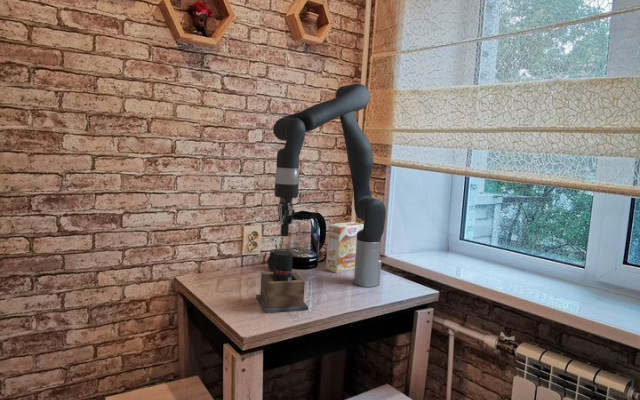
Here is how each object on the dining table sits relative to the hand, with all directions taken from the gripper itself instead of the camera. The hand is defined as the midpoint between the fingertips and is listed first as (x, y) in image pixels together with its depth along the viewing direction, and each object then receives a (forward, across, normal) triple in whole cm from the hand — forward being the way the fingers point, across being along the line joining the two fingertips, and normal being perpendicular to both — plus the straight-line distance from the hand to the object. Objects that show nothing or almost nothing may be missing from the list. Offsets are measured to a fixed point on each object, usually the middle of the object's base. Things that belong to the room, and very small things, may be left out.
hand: (284, 235), depth 139 cm
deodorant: (+21, 0, 0) cm, 21 cm away
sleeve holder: (+23, 0, 0) cm, 23 cm away
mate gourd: (+23, +37, -7) cm, 44 cm away
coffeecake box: (+23, +34, -36) cm, 55 cm away
